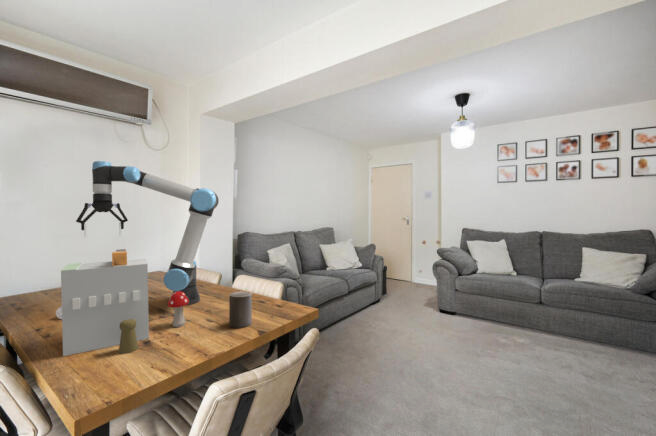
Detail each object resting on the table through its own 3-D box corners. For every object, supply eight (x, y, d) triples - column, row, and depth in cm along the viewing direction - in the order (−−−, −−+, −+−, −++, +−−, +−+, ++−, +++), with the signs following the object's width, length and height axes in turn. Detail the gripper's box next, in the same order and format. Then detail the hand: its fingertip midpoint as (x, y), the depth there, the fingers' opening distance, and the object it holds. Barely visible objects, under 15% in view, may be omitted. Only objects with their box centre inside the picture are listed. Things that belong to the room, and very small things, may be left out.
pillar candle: (231, 329, 129) (231, 295, 128) (227, 322, 137) (227, 289, 137) (254, 326, 133) (254, 292, 133) (249, 319, 142) (249, 287, 142)
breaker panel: (70, 340, 119) (68, 264, 119) (146, 326, 134) (145, 258, 133) (62, 357, 105) (60, 270, 105) (149, 339, 120) (147, 263, 119)
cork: (124, 346, 113) (124, 317, 113) (141, 345, 114) (141, 316, 114) (114, 354, 107) (114, 323, 107) (132, 353, 108) (132, 322, 108)
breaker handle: (115, 257, 135) (114, 246, 135) (127, 256, 138) (127, 246, 137) (112, 266, 113) (112, 253, 113) (126, 264, 116) (126, 252, 116)
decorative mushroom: (169, 322, 138) (168, 289, 137) (189, 319, 141) (189, 287, 141) (166, 330, 129) (166, 295, 128) (189, 327, 132) (188, 293, 132)
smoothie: (83, 309, 153) (71, 316, 140) (70, 316, 151) (56, 325, 138) (76, 298, 152) (62, 305, 139) (62, 306, 150) (47, 313, 137)
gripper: (132, 194, 158) (133, 234, 158) (70, 193, 144) (71, 237, 144) (132, 193, 151) (133, 235, 152) (67, 192, 138) (69, 238, 138)
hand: (103, 236), depth 148 cm, fingers open, 13 cm apart
